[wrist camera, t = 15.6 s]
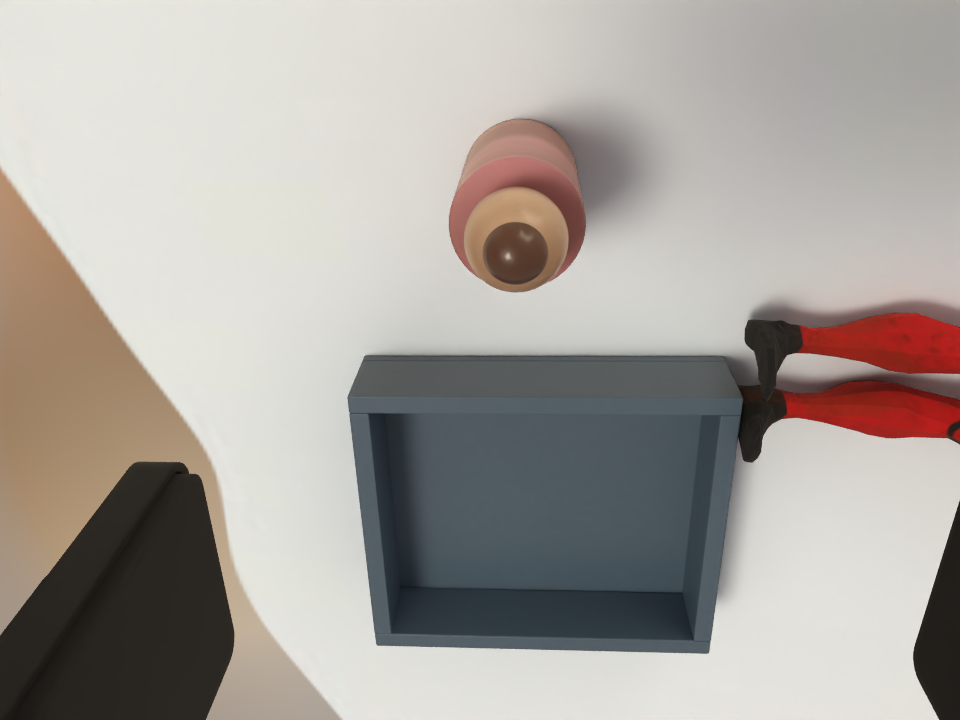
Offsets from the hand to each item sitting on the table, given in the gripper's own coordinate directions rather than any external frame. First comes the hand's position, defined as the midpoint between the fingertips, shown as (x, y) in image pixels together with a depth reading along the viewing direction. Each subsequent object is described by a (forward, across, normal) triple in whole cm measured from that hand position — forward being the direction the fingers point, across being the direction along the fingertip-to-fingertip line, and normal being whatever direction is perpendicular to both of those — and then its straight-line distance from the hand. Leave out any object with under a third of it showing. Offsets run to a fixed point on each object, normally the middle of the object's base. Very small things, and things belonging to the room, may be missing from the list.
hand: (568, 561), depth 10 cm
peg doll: (+24, +1, +1) cm, 24 cm away
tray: (+24, 0, +16) cm, 28 cm away
